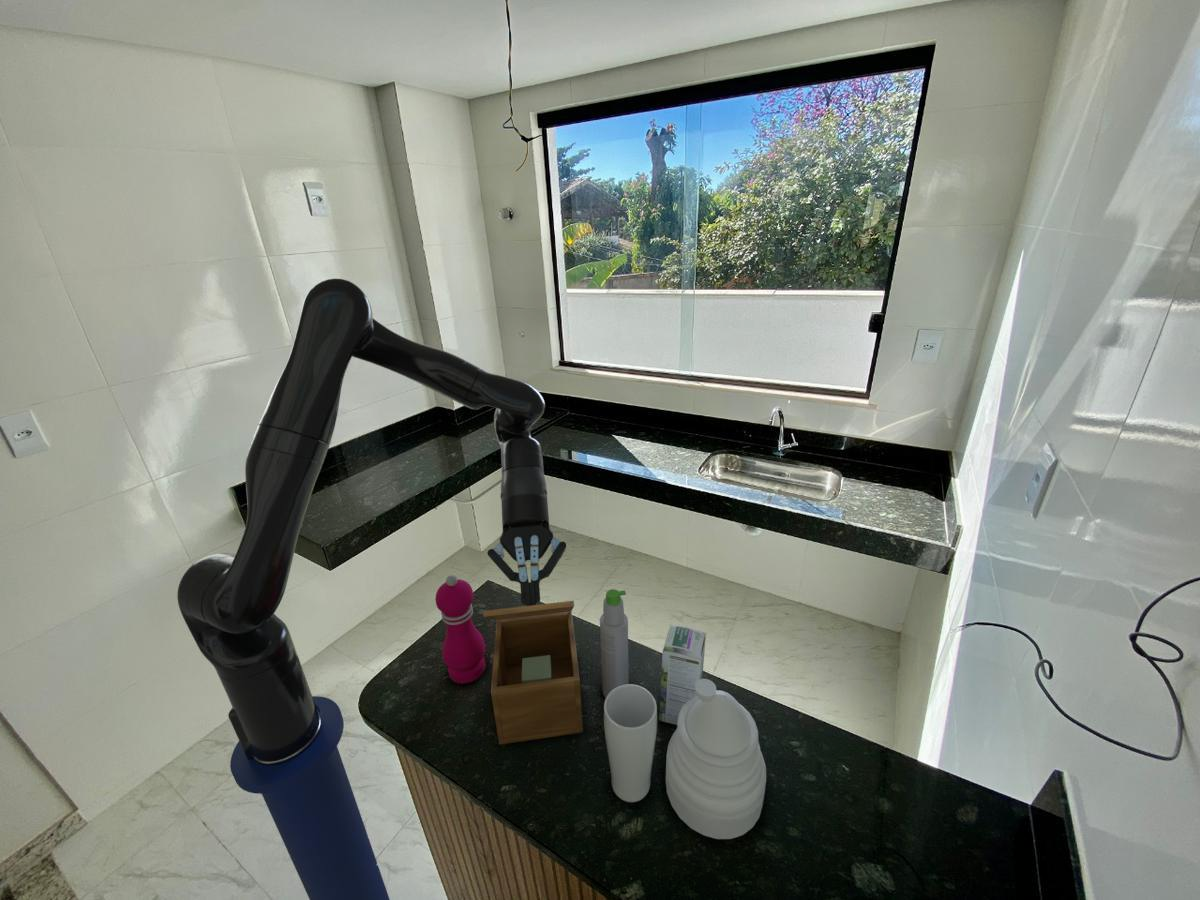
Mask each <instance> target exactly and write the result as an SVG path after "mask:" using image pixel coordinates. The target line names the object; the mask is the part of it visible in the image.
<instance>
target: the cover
mask: <svg viewBox="0 0 1200 900" xmlns="http://www.w3.org/2000/svg"><path fill="white" fill-rule="evenodd" d="M574 607H575V601H574V600H567V601H558V602H551V603H541V604H540V603H539V604H536V605H531V606H526V605H522V606H514V607H505V608H498V609H496V608H495V609H489V610H483V614H482V615H483V617H482V618H487V619H492V620H495V621H497V620H502V619H511V618H519V617H528V616H536V615H545V614H553V613H562V612H570V611H571V612H572V611H573V610H574Z"/></svg>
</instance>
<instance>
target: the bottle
mask: <svg viewBox="0 0 1200 900" xmlns="http://www.w3.org/2000/svg"><path fill="white" fill-rule="evenodd" d="M625 595H627V592H626V590H618V589H615V588H612V589H611V588H610V589H609V590H607V591H606V593H605V597H604V599H603V604H602V605H603V606H602V614H601V615H600V617H599V636H600V659H601V661H600V663H601V665H600V666H601V687H602V689H601V690H602V695H603V697H604V698H605V699H606V697H607V695H608V694H609V693H610V692H611V691H612V690H613V689H614V688H616V687H618V686H621V685H626V684H630V683H629V681H630V680H629V678H630V677H629V620H628V616H627V615H626V613H625V608H624V599H623V598H622V597H621V596H625Z"/></svg>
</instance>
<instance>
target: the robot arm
mask: <svg viewBox="0 0 1200 900" xmlns="http://www.w3.org/2000/svg"><path fill="white" fill-rule="evenodd" d="M373 315H374V314H373V309H372V305H371V303H370V301H369V299H368V297H367V295H366V294H365V292H364V291H363V290H362V288H360V287H359V286H358V285H357V284H355V283H353V282H352V281H350V280H347V279H343V278H328V279H325V280H322V281H320V282H318V283H317V284H315V285H314V286H313V287H311V289H309V291H308V292H307V294H306V295H305V298H304V300H303V303H302V307H301V311H300V317H299V321H298V325H297V329H296V333H295V337H294V340H293V343H292V348H291V351H290V354H289V356H288V359H287V361H286V364H285V366H284V369H283V370H282V372H281V374H280V377H279V378H278V380H277V382H276V384H275V387H274V389H273V391H272V393H271V395H270V398H269V400H268V402H267V404H266V407H265V408H264V411H263V413H262V416H261V417H260V420H259V422H258V424H257V427H256V429H255V432H254V435H253V438H252V440H251V442H250V445H249V448H248V450H247V454H246V458H245V463H244V465H245V466H244V475H245V477H244V478H245V491H246V502H247V515H246V516H247V517H246V523H245V528H244V531H243V535H242V537H241V540H240V543H239V545H238V548H237V551H236V553H231V552H218V553H213V554H209V555H206V556H204V557H202V558H200V559H198V560H197V561H196V562H194V563H193V564H192V565H190V567H188V569H186V571H185V572H184V574H183V576H182V577H181V578H180V581H179V584H178V587H177V593H176V595H177V596H176V597H177V599H176V600H177V605H178V608H179V611H180V613H181V616H182V618H183V620H184V622H185V625H186V626H187V629H188V630H189V632H190V634H191V637H192V638H193V640H194V642H195V644H196V645H197V647H198V649H199V651H200V653H201V654H202V655H203V656H204V658H205V659H206V660H207V661H208V662H209V663H210V664H211V665H212V666H213V668H214V670H215V671H216V674H217V676H218V678H219V680H220V683H221V685H222V687H223V690H224V692H225V694H226V696H227V698H228V701H229V703H230V705H231V709H230V710H229V712H228V714H227V715H228V719H229V722H230V723H231V726H232V728H233V731H234V733H235V735H236V737H237V739H238V742H239V741H240V743H241V746H242V748H243V750H244V752H245V755H246V757H247V759H248V760H250V759H255V761H256V762H257V763H259V764H261V765H266V766H272V765H278V764H282V763H285V762H287V761H289V760H291V759H293V758H295V757H297V756H298V755H300V754H301V753H302V752H304V751H305V750H306V749H307V748H308V747H309V746H310V745H311V744H312V743H313V742H314V741H315V739H316V738H317V736H318V734H319V732H320V729H321V723H322V722H321V718H320V715H319V714H318V712H317V710H318V711H319V712H320V709H319V708H318V707H317V705H316V704H315V703H314V700H313V697H312V696H313V695H312V692H311V689H310V686H309V684H308V681H307V678H306V675H305V671H304V669H303V667H302V663H301V660H300V658H299V655H298V652H297V649H296V646H295V644H294V641H293V638H292V635H291V632H290V630H289V627H288V626H287V624H286V623H285V622H284V621H283V620H282V619H281V618H279V617H278V616H277V615H276V614H275V613H276V611H277V609H278V608H279V606H280V604H281V602H282V600H283V597H284V594H285V592H286V589H287V584H288V582H289V581H288V580H289V576H290V573H291V569H292V568H291V567H292V563H293V561H294V555H295V551H296V546H297V543H298V538H299V534H300V531H301V528H302V524H303V522H304V518H305V516H306V512H307V510H308V506H309V503H310V500H311V497H312V494H313V492H314V491H313V490H314V488H315V484H316V482H317V479H318V477H319V474H320V472H321V470H322V467H323V465H324V462H325V459H326V457H327V454H328V451H329V447H330V445H331V442H332V439H333V435H334V431H335V427H336V422H337V417H338V412H339V407H340V401H341V395H342V394H341V393H342V386H343V382H344V378H345V376H346V375H345V374H346V372H347V369H348V367H349V364H350V362H351V360H352V358H356V359H359V360H361V361H364V362H367V363H371V364H373V365H376V366H379V367H381V368H384V369H387V370H389V371H392V372H394V373H396V374H397V375H401V376H403V377H406V378H407V379H410V380H412V381H414V382H416V383H418V384H420V385H422V386H424V387H426V388H428V389H431V390H432V391H434V392H436V393H438V394H440V395H442V396H444V397H446V398H448V399H450V400H451V401H454V402H456V403H458V404H460V405H462V406H463V407H466V408H468V409H471V410H479V409H481V408H483V407H492V408H495V411H494V414H493V415H494V416H493V426H494V427H493V428H494V432H495V436H496V440H497V444H498V447H499V449H500V461H501V463H500V464H501V482H500V501H501V522H502V523H501V525H502V532H501V535H500V537H499V543H498V544H497V545H495V546H494V547H493V548H489V549H488V550H487V553H486V554H487V556H488V557H489V558H490V560H491V561H492V562H493V563H494V564H495V566H496V567H498V569H499V570H501V572H502V573H503V575H504V576H506V578H507V579H508V580H509V581H511V582H516V583H518V584H519V585H520V601H521V604H522V606H531V605H539V604H540V603H541V592H540V591H541V590H540V589H541V588H540V583H541V581H542V580H544V579H546V578H549V577H550V576H551V574H552V572H553V571H554V569H555V568H556V566H557V565H558V563H559V562H560V560H561V558H562V557H563V556H564V553H565V552H566V551H567V543H566V542H565V541H560V540H559V539H557V538H556V537H555V536H554V533H553V531H552V529H551V527H550V517H549V502H548V489H547V482H546V477H545V472H544V459H543V451H542V446H541V444H540V442H539V441H538V440H536V439H535V438H533V437H532V435H531V432H532V431H531V430H532V429H531V428H532V427H533V426H534V425H535V424H536V423H537V422H539V420H540V418H541V417H542V416H543V414H544V413H545V409H546V403H545V400H544V397H543V396H542V394H541V393H540V392H539V390H537V389H536V388H535V387H533V386H532V385H530V384H528V383H526V382H525V381H521V380H518V379H514V378H510V377H507V376H503V375H500V374H496V373H495V374H494V373H490V372H488V371H486V370H485V369H482V368H480V367H479V366H477V365H475V364H473V363H471V362H469V361H468V360H466V359H464V358H461V357H460V356H457V355H456V354H453V353H452V352H451V353H450V352H448V351H445V350H443V349H440V348H437V347H433V346H430V345H426V344H424V343H423V344H422V343H419V342H417V341H413V340H412V339H409V338H406V337H404V336H402V335H400V334H398V333H396V332H394V331H392V330H391V329H389V328H388V327H386V326H385V325H383V324H382V323H380V322H379V321H378V320H376V319H375V318H373ZM550 545H551V547H550ZM549 547H550V552H551V553H552V554H551V556H550V557H549V558H548V560H547V561H546V563H545V564H544V566H543V567H542V569H540V560H541V559H542V558H544V556H545V554H546V553H547V550H548V548H549ZM504 550H505V552H507V554H508V555H509V556H510V557H511V559H512V560H514V561H515V562H516V564H517V565H516V566H517V570H518V572H517V571H514V570H513V569H512V568H511V567H510V565H508V563H507V562H506V561H505V560H504V558H505V552H504ZM527 561H529V562H530V563H529V564H530V576H529V575H528V568H527V567H528V566H527ZM529 577H530V581H529ZM316 708H317V709H316ZM320 714H321V712H320Z"/></svg>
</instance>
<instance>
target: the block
mask: <svg viewBox="0 0 1200 900" xmlns="http://www.w3.org/2000/svg"><path fill="white" fill-rule="evenodd" d="M551 679H552V669H551V658H550V655H546V656H538V657H530V658H522V683H529V682H536V681H544V680H551Z"/></svg>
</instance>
